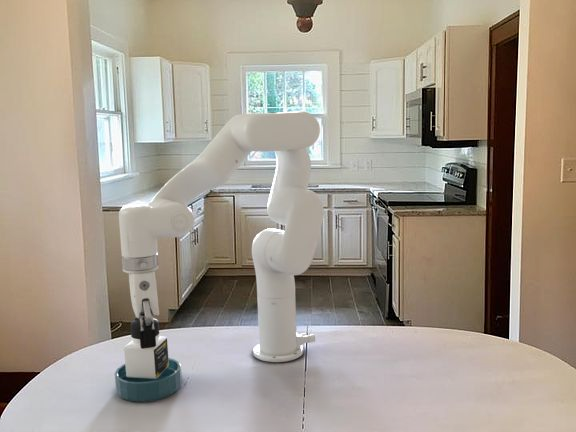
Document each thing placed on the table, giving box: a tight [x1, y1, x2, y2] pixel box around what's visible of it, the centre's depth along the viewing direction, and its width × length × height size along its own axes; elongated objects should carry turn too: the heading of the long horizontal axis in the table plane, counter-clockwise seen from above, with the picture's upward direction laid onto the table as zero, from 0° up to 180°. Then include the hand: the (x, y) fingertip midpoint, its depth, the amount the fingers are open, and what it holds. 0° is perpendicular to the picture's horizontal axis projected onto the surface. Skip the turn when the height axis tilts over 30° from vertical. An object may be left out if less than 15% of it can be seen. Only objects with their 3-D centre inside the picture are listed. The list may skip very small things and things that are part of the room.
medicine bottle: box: [123, 317, 169, 379], centre depth 132 cm, size 7×7×12 cm
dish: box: [114, 357, 183, 403], centre depth 134 cm, size 14×14×4 cm
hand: (145, 340), depth 132 cm, fingers closed on medicine bottle, 7 cm apart
